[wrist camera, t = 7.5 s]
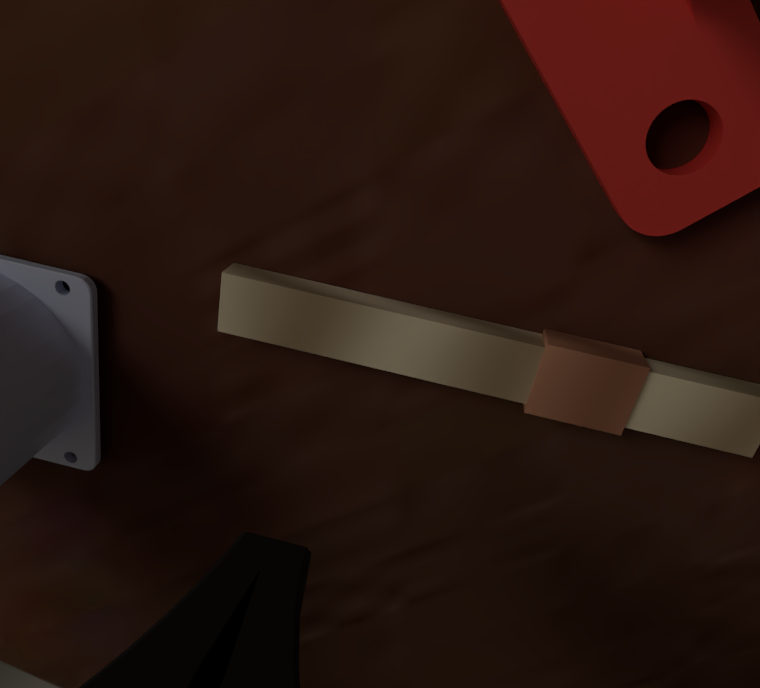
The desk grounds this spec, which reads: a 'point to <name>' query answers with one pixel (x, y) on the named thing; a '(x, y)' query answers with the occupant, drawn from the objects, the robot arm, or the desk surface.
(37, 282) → the robot arm
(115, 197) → the desk surface
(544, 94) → the desk surface
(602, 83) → the bracket
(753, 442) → the guide track
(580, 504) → the desk surface
